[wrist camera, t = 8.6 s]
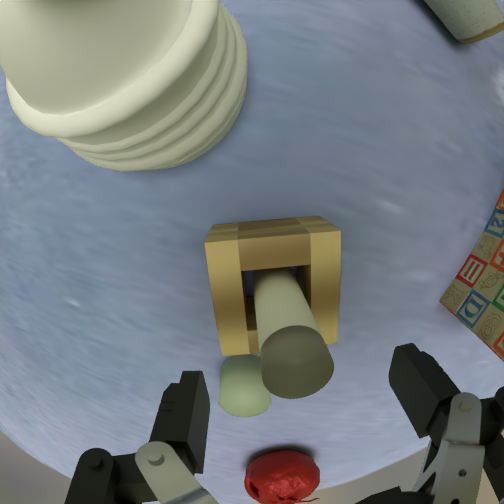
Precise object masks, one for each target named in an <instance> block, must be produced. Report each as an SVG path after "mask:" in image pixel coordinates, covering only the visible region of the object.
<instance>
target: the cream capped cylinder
mask: <svg viewBox="0 0 504 504" xmlns="http://www.w3.org/2000/svg"><path fill="white" fill-rule="evenodd" d="M252 281H253V291H254V302H255V312H256V322H257V332H258V342H259V352H260V362H261V372H262V381H263V384H264V386H265V387H266V389H267V390H268V391H269V392H271V393H272V394H274V395H276V396H279V397H282V398H289V399H294V398H302V397H306V396H309V395H311V394H313V393H315V392H317V391H319V390H320V389H321V388H323V387H324V386H325V385H326V384H327V383H328V381H329V380H330V379H331V377H332V374H333V371H334V362H333V359H332V357H331V355H330V353H329V350H328V348H327V346H326V344H325V341H324V339H323V337H322V335H321V332H320V330H319V328H318V326H317V323H316V321H315V319H314V317H313V315H312V312H311V310H310V308H309V306H308V304H307V302H306V299H305V297H304V295H303V293H302V291H301V289H300V286H299V284H298V282H297V280H296V278H295V276H294V274H293V271H292V269H291V267H290V266H289V267H279V268H269V269H258V270H252Z"/></svg>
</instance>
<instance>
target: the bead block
mask: <svg viewBox="0 0 504 504" xmlns="http://www.w3.org/2000/svg"><path fill="white" fill-rule="evenodd" d="M204 244H205V251H206V259H207V266H208V273H209V280H210V286H211V293H212V299H213V306H214V312H215V318H216V324H217V330H218V336H219V342H220V347H221V353H222V356H229V355H243V354H255V353H260V352H259V342H258V332H257V322H256V312H255V302H254V297H247V298H246V294H245V285H244V275H243V271H247V270H258V269H269V268H279V267H289V266H297V282H298V284H299V286H300V289H301V291H302V293H303V295H304V297H305V299H306V302H307V304H308V306H309V308H310V310H311V312H312V315H313V317H314V319H315V321H316V323H317V326H318V328H319V330H320V332H321V335H322V337H323V339H324V341H325V344H326V345H328V344H335V343H337V333H338V319H339V301H340V276H341V231H340V230H339V229H338V228H336V227H335V226H333V225H332V224H330V223H329V222H327V221H326V220H324V219H323V218H321V217H320V216H313V217H300V218H287V219H275V220H263V221H252V222H241V223H230V224H220V225H213V226H212V228H211V230H210V232H209V234H208V236H207V238H206V241H205V243H204Z"/></svg>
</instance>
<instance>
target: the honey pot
mask: <svg viewBox="0 0 504 504" xmlns="http://www.w3.org/2000/svg"><path fill="white" fill-rule="evenodd" d="M247 57H248V49H247V46H246V43H245V39H244V36H243V33H242V30H241V27H240V25H239V24H238V22H237V21H236V20H235V18H234V17H233V16H232V14H231V13H230V12H229V11H228V9H227V8H226V7H225V6H224V5H222V4H221V3H219V0H0V65H1V67H2V69H3V71H4V73H5V75H6V89H7V92H8V96H9V99H10V103H11V106H12V109H13V111H14V112H15V113H16V115H17V116H18V117H19V119H20V120H21V121H22V123H23V124H24V125H25V126H27V127H29V128H30V129H32V130H34V131H36V132H38V133H39V134H41V135H43V136H47V137H55V138H56V139H57V140H59V141H61V142H62V143H64V144H66V145H67V146H69V147H70V148H71V149H72V150H73V151H74V152H75V153H76V154H77V155H78V156H80V157H82V158H84V159H85V160H87V161H89V162H91V163H93V164H94V165H96V166H99V167H102V168H107V169H112V170H117V171H122V172H127V171H139V170H154V169H170V168H173V167H176V166H179V165H182V164H185V163H188V162H191V161H193V160H195V159H196V158H198V157H199V156H201V155H203V154H205V153H206V152H208V151H210V150H211V149H212V148H213V147H214V146H215V145H216V144H217V143H218V142H219V141H220V140H221V139H222V138H223V137H224V136H225V135H226V134H227V133H228V132H229V130H230V129H231V127H232V125H233V124H234V122H235V121H236V119H237V118H238V116H239V114H240V111H241V108H242V105H243V101H244V98H245V95H246V84H247Z"/></svg>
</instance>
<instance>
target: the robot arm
mask: <svg viewBox="0 0 504 504" xmlns="http://www.w3.org/2000/svg"><path fill="white" fill-rule="evenodd" d="M389 383H390V386H391V388H392V389H393V391H394V393H395V395H396V396H397V398H398V400H399V402H400V404H401V405H402V407H403V409H404V411H405V413H406V414H407V416H408V418H409V420H410V422H411V423H412V425H413V427H414V429H415V431H416V433H417V435H418V437H419V438H423V437H425V436H428V435H429V436H430V438H431V440H430V441H429V444H428V448H427V451H426V455H425V458H424V462H423V465H422V468H421V471H420V474H419V477H418V479H417V481H416V483H415V485H414V486H413V488H412V490H411V491H407V492H401V489H400V487H399V486H398V487H395V488H392V489H389V490H386V491H383V492H380V493H377V494H374V495H371V496H369V497H367V498H365V499H364V500H361V501H359V502H357V503H355V504H476V500H477V495H478V490H479V486H480V481H481V475H482V468H484V470H485V472H486V474H487V477H488V479H489V481H490V483H491V485H492V487H493V489H494V492H495V494H496V496H497V498H498V501H499V504H504V438H503V436H502V434H501V432H502V431H503V429H504V387H501V388H499V389H498V391H497V392H496V394H495V396H494V397H492V398H486V399H479V398H478V397H477V396H475V395H474V394H471V393H468V392H463V393H461V392H460V390H459V389H458V388H457V386H456V385H455V384H454V383H453V381H452V380H451V379H450V378H449V376H448V375H447V374H446V373H445V372H444V371H443V369H442V368H441V366H439V364H438V363H437V361H436V360H435V359H434V358H433V357H432V356H431V355H429V354H427V353H426V352H424V351H422V352H420V351H419V349H418V348H417V347H416V346H415V344H413V343H409V344H405V345H401V346H397V347H396V348H395V350H394V354H393V358H392V362H391V366H390V370H389ZM158 410H159V411H158V413H157V416H156V419H155V423H154V426H153V430H152V433H151V436H150V440H149V442H148V443H146V444H144V445H143V446H141V447H140V448H139V449H138V451H137V452H136V453H133V454H126V455H118V456H112V455H111V454H110V453H109V452H108V451H106V450H104V449H101V448H92V449H89V450H87V451H85V452H84V453H83V454H82V455H81V457H80V459H79V461H78V464H77V467H76V470H75V473H74V476H73V478H72V481H71V485H70V488H69V491H68V494H67V497H66V500H65V504H142V502H151V501H159V502H160V503H161V504H219V503H218V502H217V501H216V500H215V499H214V497H213V496H212V495H211V494H210V493H209V492H208V491H207V490H206V489H204V488H203V487H202V486H201V485H200V483H199V482H198V481H197V480H196V479H195V477H194V473H199V474H203V467H204V458H205V448H206V439H207V431H208V422H209V413H210V400H209V395H208V391H207V387H206V383H205V379H204V375H203V372H202V371H183V372H182V375H181V379H180V383H171V384H170V385H169V386H168V388H167V389H166V390H165V391H164V393H163V396H162V399H161V403H160V406H159V409H158Z"/></svg>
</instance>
